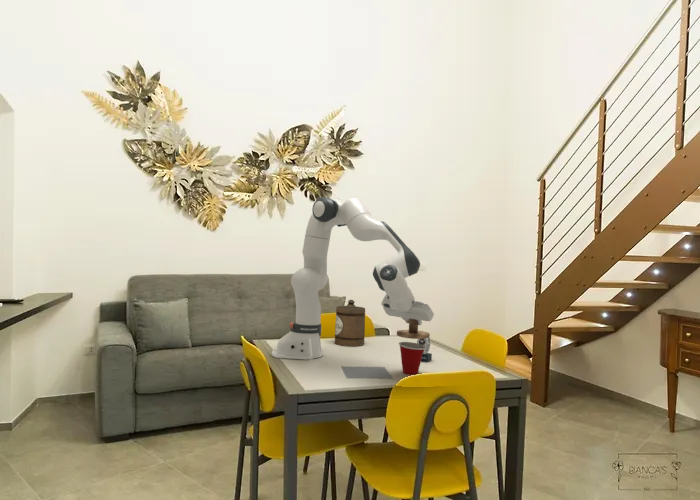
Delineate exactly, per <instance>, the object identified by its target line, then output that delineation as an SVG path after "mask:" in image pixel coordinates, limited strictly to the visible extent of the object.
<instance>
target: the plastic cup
mask: <svg viewBox="0 0 700 500" xmlns="http://www.w3.org/2000/svg"><path fill="white" fill-rule="evenodd" d="M398 345H399V350H400V357H401V358H400V359H401V365H402V366H401V369H402V373H403V374H404V375H408V376H409V375H411V376H413V375H412V374H416V375H418V374H419V370H420V366H421V362H422V361H421V359H422V354H423V352H424V350H425V348H426V347H425V346H424V345H421V344H417V342H411V341H410V342H409V341H400V342H398Z"/></svg>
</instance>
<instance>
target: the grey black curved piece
mask: <svg viewBox="0 0 700 500" xmlns="http://www.w3.org/2000/svg"><path fill="white" fill-rule="evenodd" d="M416 343H417V344H421V345H424V346H425V347H426V348H425V350H424V352H423V354H422V359H421V362H424V363H429V362H432V355H433V354H432V353H431V352H430V353H429V351H430V347H431V337H429V338H425V339H417V340H416Z"/></svg>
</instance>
